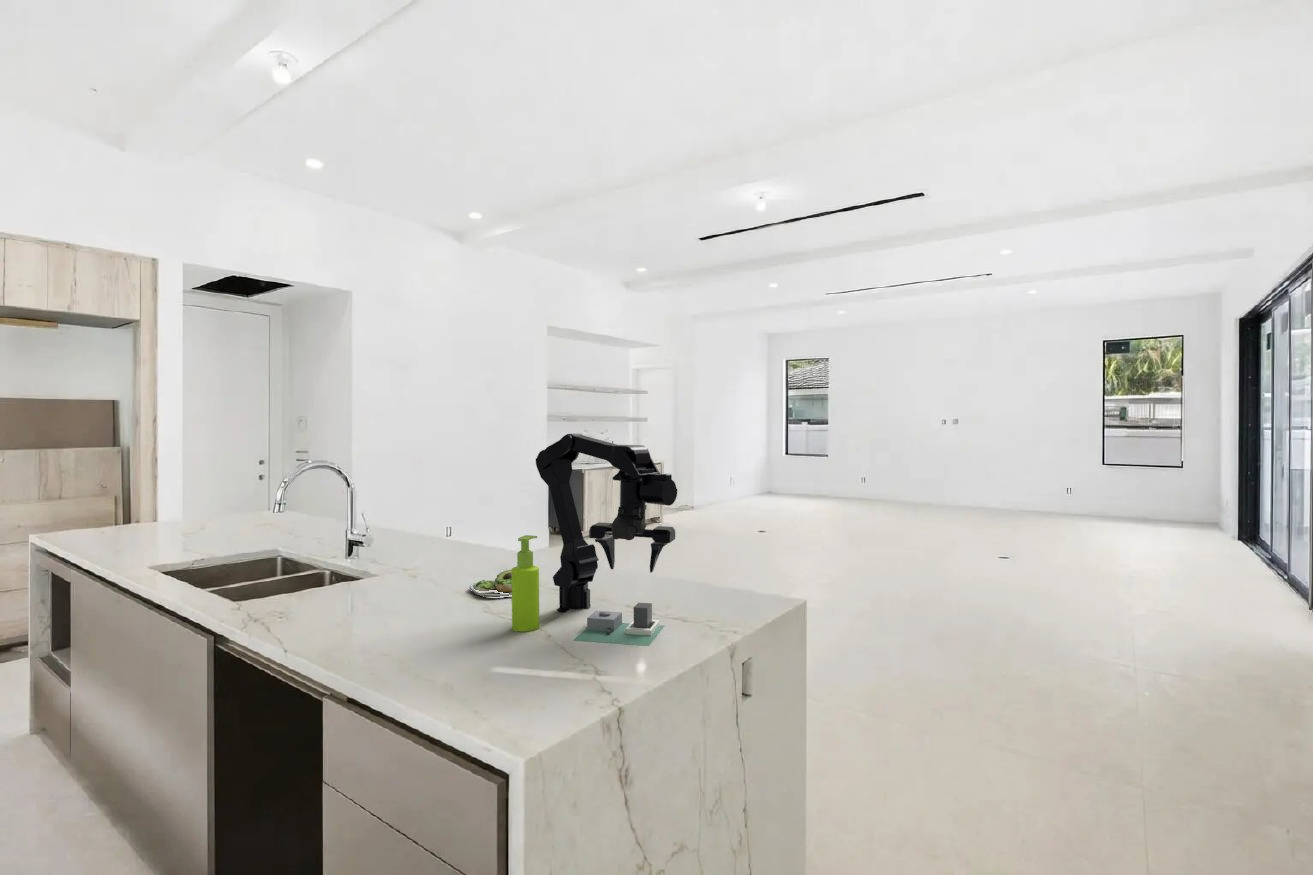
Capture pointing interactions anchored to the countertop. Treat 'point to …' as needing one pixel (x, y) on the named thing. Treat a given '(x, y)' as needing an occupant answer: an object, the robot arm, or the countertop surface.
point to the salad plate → (495, 585)
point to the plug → (643, 615)
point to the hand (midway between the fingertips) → (631, 570)
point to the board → (617, 630)
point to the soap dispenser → (525, 589)
